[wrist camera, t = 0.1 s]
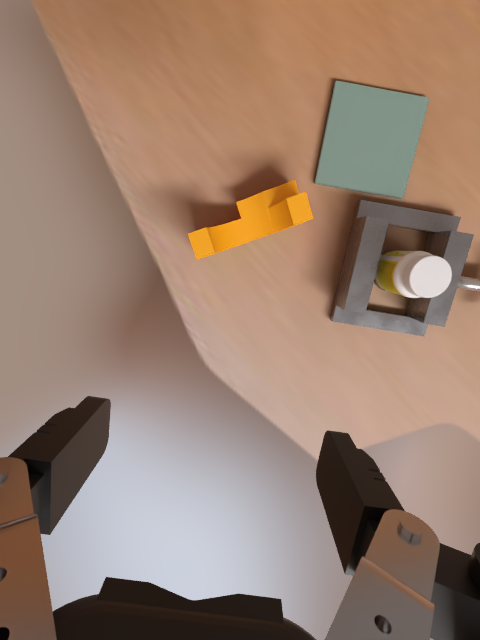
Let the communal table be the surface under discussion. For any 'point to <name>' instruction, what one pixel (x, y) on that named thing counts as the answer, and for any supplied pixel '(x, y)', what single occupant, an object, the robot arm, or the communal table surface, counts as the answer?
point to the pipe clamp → (255, 220)
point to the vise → (365, 260)
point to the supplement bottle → (412, 273)
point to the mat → (370, 139)
